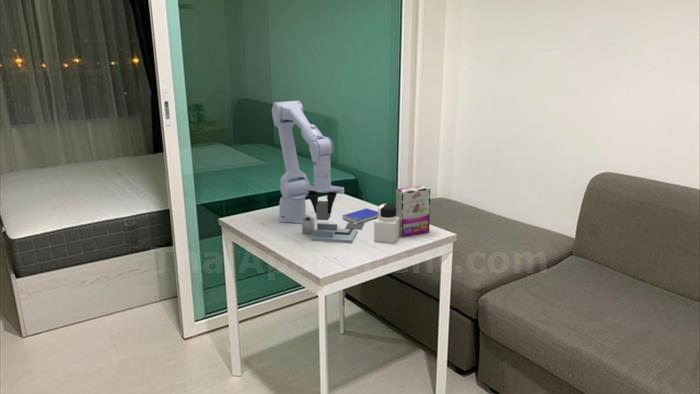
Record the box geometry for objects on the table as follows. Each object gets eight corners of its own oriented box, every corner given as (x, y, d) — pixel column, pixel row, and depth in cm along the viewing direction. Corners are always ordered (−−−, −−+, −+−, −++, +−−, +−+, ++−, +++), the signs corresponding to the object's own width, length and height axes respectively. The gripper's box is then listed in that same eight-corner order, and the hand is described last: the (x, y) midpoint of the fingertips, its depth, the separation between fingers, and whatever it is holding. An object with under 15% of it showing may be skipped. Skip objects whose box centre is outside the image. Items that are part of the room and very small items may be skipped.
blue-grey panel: (311, 240, 180) (311, 232, 179) (320, 227, 192) (320, 219, 191) (351, 243, 177) (351, 234, 176) (358, 229, 189) (358, 221, 188)
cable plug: (302, 234, 186) (301, 218, 184) (305, 230, 189) (304, 215, 187) (311, 234, 185) (311, 219, 183) (314, 231, 188) (314, 216, 187)
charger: (316, 219, 181) (316, 204, 179) (319, 215, 185) (318, 200, 183) (327, 220, 180) (327, 204, 179) (330, 216, 184) (330, 201, 182)
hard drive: (357, 219, 193) (381, 212, 202) (342, 214, 199) (365, 207, 207) (357, 223, 194) (381, 216, 202) (342, 218, 200) (365, 211, 208)
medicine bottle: (399, 236, 183) (400, 203, 179) (394, 243, 177) (395, 209, 173) (379, 233, 185) (380, 201, 182) (373, 241, 179) (374, 207, 175)
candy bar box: (422, 228, 190) (423, 184, 185) (429, 232, 186) (431, 188, 181) (394, 232, 186) (395, 188, 181) (401, 237, 182) (402, 192, 177)
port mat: (345, 228, 190) (345, 227, 190) (348, 222, 196) (348, 222, 196) (361, 229, 189) (361, 228, 189) (364, 223, 195) (364, 223, 195)
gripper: (297, 176, 175) (299, 215, 179) (340, 178, 172) (341, 217, 176) (303, 171, 182) (305, 208, 186) (345, 172, 179) (345, 210, 183)
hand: (323, 212), depth 182 cm, fingers closed on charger, 4 cm apart
